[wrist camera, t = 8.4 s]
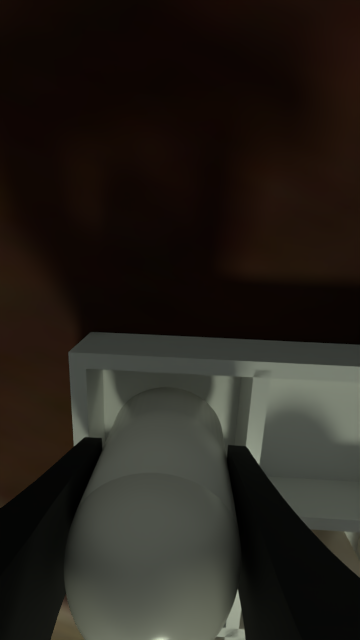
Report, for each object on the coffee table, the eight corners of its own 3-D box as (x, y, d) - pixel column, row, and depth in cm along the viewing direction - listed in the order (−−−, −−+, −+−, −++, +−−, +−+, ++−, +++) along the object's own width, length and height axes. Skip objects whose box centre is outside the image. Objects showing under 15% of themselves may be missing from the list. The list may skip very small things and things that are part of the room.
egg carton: (413, 347, 13) (662, 466, 6) (332, 669, 18) (418, 928, 11) (91, 331, 13) (-16, 428, 6) (102, 653, 18) (51, 895, 12)
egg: (226, 389, 11) (272, 577, 5) (218, 485, 13) (247, 738, 6) (111, 384, 12) (14, 561, 5) (113, 479, 13) (35, 721, 6)
